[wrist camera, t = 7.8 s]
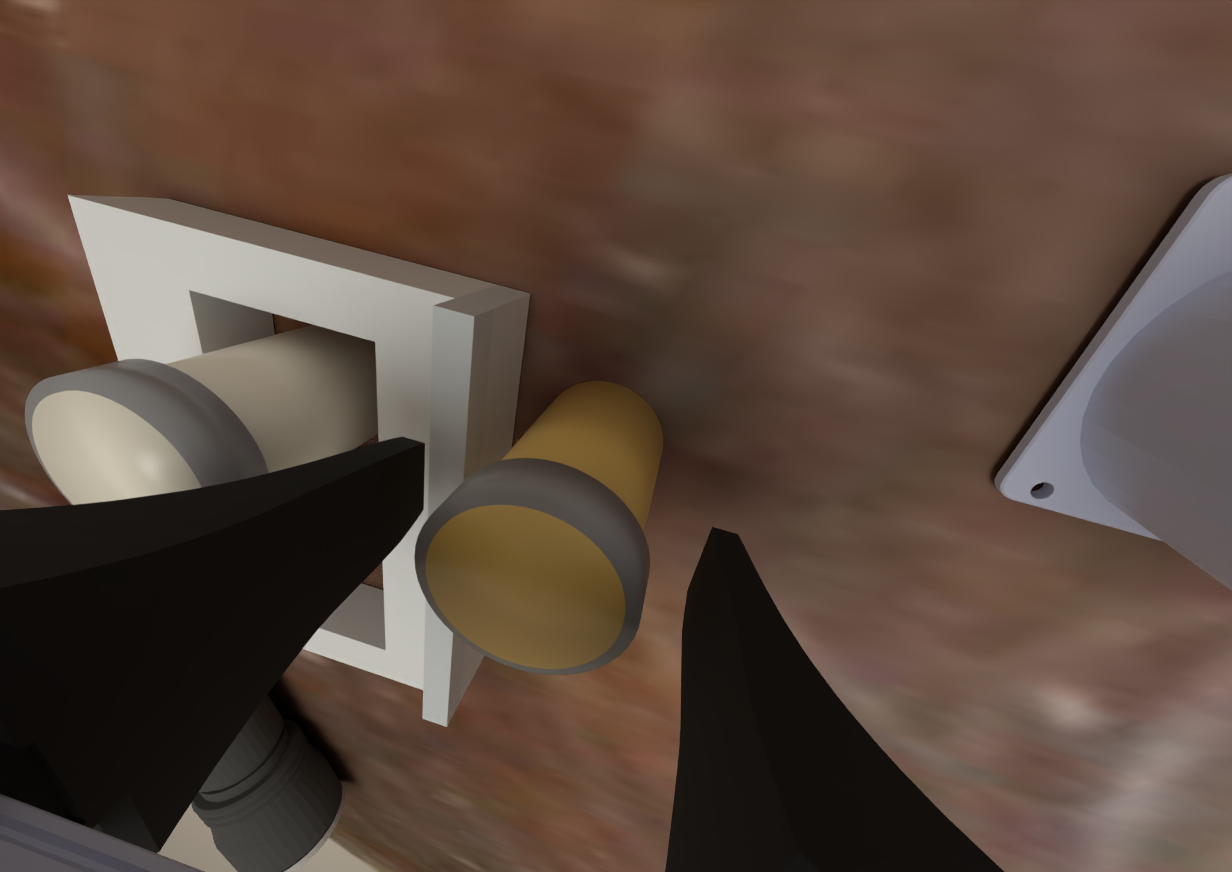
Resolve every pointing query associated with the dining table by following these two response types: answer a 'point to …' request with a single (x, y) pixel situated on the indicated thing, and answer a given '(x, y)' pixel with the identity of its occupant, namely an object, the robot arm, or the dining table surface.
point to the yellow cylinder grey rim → (551, 537)
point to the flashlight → (270, 796)
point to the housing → (405, 373)
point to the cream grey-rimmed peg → (204, 415)
